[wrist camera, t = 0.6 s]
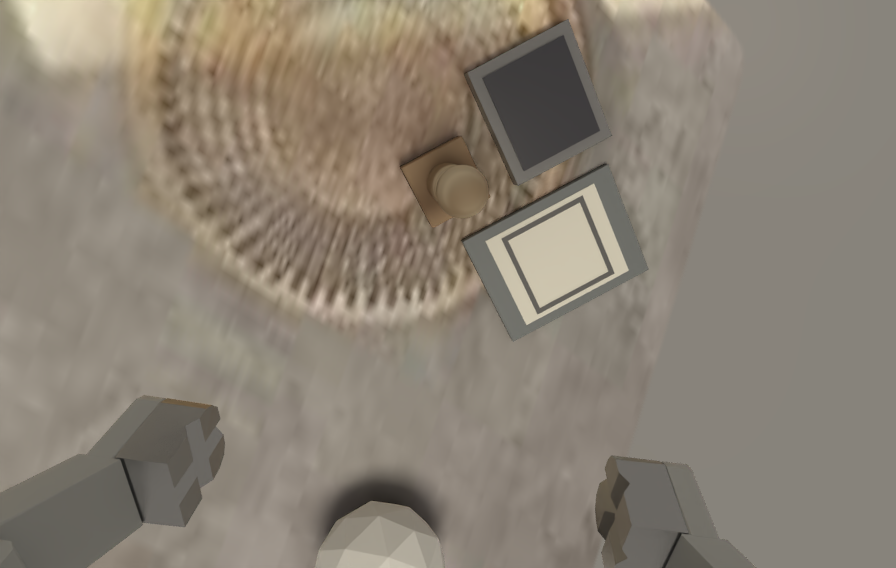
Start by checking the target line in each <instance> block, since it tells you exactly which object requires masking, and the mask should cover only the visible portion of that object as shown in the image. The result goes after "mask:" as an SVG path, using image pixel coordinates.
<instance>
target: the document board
mask: <svg viewBox="0 0 896 568" xmlns="http://www.w3.org/2000/svg"><path fill="white" fill-rule="evenodd" d="M461 241H462V243H463V245H464V247H465V249H466V251H467V253H468V255H469V257H470V259H471V261H472V263H473V265H474V267H475V269H476V271H477V273H478V275H479V276H480V278H481V280H482V282H483V284H484V286H485V288H486V290H487V292H488V294H489V296H490V298H491V300H492V302H493V304H494V306H495V308H496V310H497V312H498V314H499V316H500V318H501V320H502V322H503V324H504V326H505V328H506V330H507V332H508V334H509V336H510V338H511V339H512V341H513V342H514V341H516V340H517V339H519V338H521V337H523V336H525V335H527V334H529V333H530V332H532V331H534V330H536V329H538V328H540V327H542V326H544V325H545V324H547V323H549V322H551V321H553V320H555V319H557V318H559V317H560V316H562V315H564V314H566V313H568V312H570V311H572V310H574V309H575V308H577V307H579V306H581V305H583V304H585V303H587V302H589V301H590V300H592V299H594V298H596V297H598V296H600V295H602V294H603V293H605V292H607V291H609V290H611V289H613V288H615V287H617V286H618V285H620V284H622V283H624V282H626V281H628V280H630V279H632V278H633V277H635V276H637V275H639V274H641V273H643V272H645V271H647V270H648V267H647V264H646V261H645V259H644V256H643V254H642V251H641V248H640V246H639V243H638V241H637V238H636V235H635V233H634V230H633V228H632V225H631V222H630V220H629V217H628V215H627V212H626V210H625V207H624V204H623V202H622V199H621V197H620V194H619V191H618V189H617V186H616V184H615V181H614V178H613V176H612V173H611V171H610V168H609V165H608V164H604V165H602V166H600V167H598V168H596V169H594V170H592V171H591V172H589V173H587V174H585V175H583V176H581V177H579V178H577V179H576V180H574V181H572V182H570V183H568V184H566V185H564V186H562V187H561V188H559V189H557V190H555V191H553V192H551V193H549V194H547V195H546V196H544V197H542V198H540V199H538V200H536V201H534V202H532V203H531V204H529V205H527V206H525V207H523V208H521V209H519V210H517V211H516V212H514V213H512V214H510V215H508V216H506V217H504V218H502V219H501V220H499V221H497V222H495V223H493V224H491V225H489V226H487V227H486V228H484V229H482V230H480V231H478V232H476V233H474V234H472V235H471V236H469V237H467V238H465V239H463V240H461Z"/></svg>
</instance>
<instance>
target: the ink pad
mask: <svg viewBox="0 0 896 568" xmlns="http://www.w3.org/2000/svg"><path fill="white" fill-rule="evenodd" d="M464 76H465V78H466V80H467V82H468V84H469V87H470V89H471V91H472V93H473V96H474V98H475V100H476V102H477V104H478V107H479V109H480V111H481V113H482V115H483V118H484V120H485V122H486V124H487V126H488V129H489V131H490V133H491V135H492V137H493V140H494V142H495V144H496V146H497V149H498V151H499V153H500V155H501V157H502V160H503V162H504V164H505V166H506V168H507V171H508V173H509V175H510V177H511V179H512V182H513V184H515V185H518V186H519V185H520V184H522V183H524V182H526V181H528V180H530V179H532V178H534V177H535V176H537V175H539V174H541V173H543V172H545V171H547V170H549V169H550V168H552V167H554V166H556V165H558V164H560V163H562V162H564V161H565V160H567V159H569V158H571V157H573V156H575V155H577V154H579V153H580V152H582V151H584V150H586V149H588V148H590V147H592V146H594V145H595V144H597V143H599V142H601V141H603V140H605V139H607V138H609V137H611V136H612V134H611V132H610V129H609V126H608V124H607V121H606V119H605V116H604V113H603V111H602V108H601V105H600V103H599V100H598V97H597V95H596V92H595V89H594V87H593V84H592V81H591V79H590V76H589V73H588V71H587V68H586V65H585V63H584V60H583V57H582V55H581V52H580V49H579V47H578V44H577V41H576V39H575V36H574V33H573V31H572V28H571V25H570V23H569V20H568V19H567V20H565V21H564V22H562V23H560V24H558V25H556V26H554V27H552V28H550V29H549V30H547V31H545V32H543V33H541V34H539V35H537V36H535V37H533V38H532V39H530V40H528V41H526V42H524V43H522V44H520V45H518V46H517V47H515V48H513V49H511V50H509V51H507V52H505V53H503V54H501V55H500V56H498V57H496V58H494V59H492V60H490V61H488V62H486V63H485V64H483V65H481V66H479V67H477V68H475V69H473V70H471V71H469V72H468V73H466V74H464Z"/></svg>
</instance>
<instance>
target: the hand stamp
mask: <svg viewBox="0 0 896 568" xmlns="http://www.w3.org/2000/svg"><path fill="white" fill-rule="evenodd" d="M400 168H401V170H402V172H403V174H404V176H405V178H406V180H407V182H408V183H409V185H410V187H411V189H412V191H413V193H414V195H415V197H416V199H417V201H418V203H419V204H420V206H421V208H422V210H423V212H424V214H425V216H426V218H427V220H428V222H429V224H430V225H431V226H432V228H434V227H436V226H438V225H439V224H441V223H443V222H445V221H447V220H449V219H451V218H453V217H455V218H460V219H465V218H470V217H472V216H475V215H476V214H478V213H479V212H480V211H481V210H482V209H483V208H484V206H485V205H486V203H487V200H488V198H490V195H489V187H488V183H487V181H486V179H485V177H484V175H483V174H482V173H481V172H480V171H479V170H478V169H477V167H476V165H475V163H474V161H473V159H472V157H471V155H470V153H469V150H468V148H467V146H466V144H465V142H464V140H463V138H462V136H457V137H455V138H453V139H451V140H449V141H447V142H445V143H443V144H442V145H440V146H438V147H436V148H434V149H432V150H430V151H428V152H427V153H425V154H423V155H421V156H419V157H417V158H415V159H413V160H412V161H410V162H408V163H406V164H404V165H402V166H400Z"/></svg>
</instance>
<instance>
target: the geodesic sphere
mask: <svg viewBox="0 0 896 568" xmlns="http://www.w3.org/2000/svg"><path fill="white" fill-rule="evenodd" d="M315 568H445V561H444V554H443V551H442V548H441V545H440V542H439V539H438V537H437V536H436V535H435V533H434V532H433V530H432V529H431V528H430V526H429V525H428V524H427V522H426V521H424V520H423V519H422V518H421V517H420V516H419V515H418V514H417V513H416V512H414V511H413V510H412V509H411V508H410V507H407V506H402V505H398V504H391V503H384V502H377V501H370V502H368V503H366V504H365V505H363V506H361V507H359V508H358V509H356V510H354V511H352V512H351V513H349V514H347V515H345V516H344V517H342V518H340V519H339V520H337V521H336V522H335V524H334V526H333V527H332V529H331V531H330V532H329V534H328V536H327V537H326V539H325V541H324V542H323V544H322V546H321V547H320V549H319V551H318V555H317V560H316V566H315Z"/></svg>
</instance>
